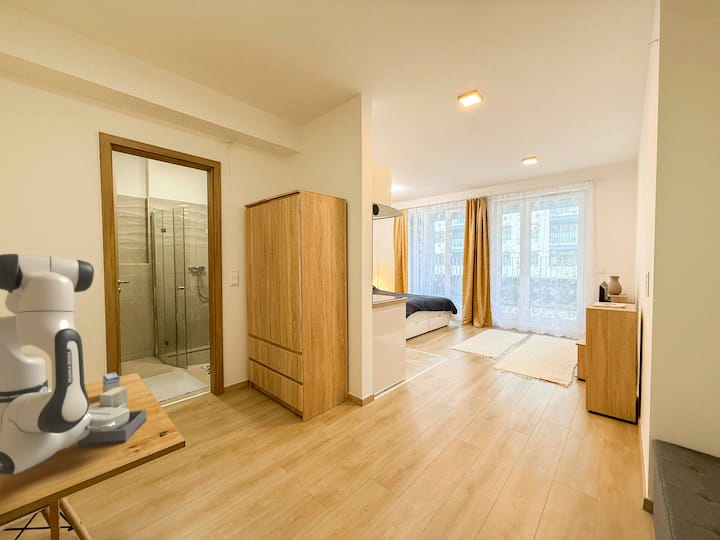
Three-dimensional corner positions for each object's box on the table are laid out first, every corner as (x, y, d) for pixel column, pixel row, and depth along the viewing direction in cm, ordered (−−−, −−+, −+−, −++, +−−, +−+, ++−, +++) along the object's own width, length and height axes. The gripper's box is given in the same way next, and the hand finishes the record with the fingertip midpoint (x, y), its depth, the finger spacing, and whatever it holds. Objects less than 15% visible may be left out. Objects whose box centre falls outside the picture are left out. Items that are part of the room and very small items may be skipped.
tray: (77, 447, 91) (77, 434, 91) (104, 424, 103) (104, 413, 103) (125, 442, 93) (125, 429, 93) (146, 420, 106) (146, 409, 106)
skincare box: (117, 420, 102) (116, 386, 101) (129, 421, 101) (128, 386, 101) (99, 431, 95) (98, 394, 95) (111, 432, 95) (110, 395, 95)
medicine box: (102, 394, 127) (102, 374, 126) (116, 391, 130) (115, 371, 130) (106, 400, 122) (106, 379, 121) (120, 396, 125) (120, 376, 125)
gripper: (103, 419, 84) (144, 397, 98) (42, 414, 86) (90, 393, 100) (103, 440, 84) (144, 415, 98) (42, 435, 86) (90, 412, 100)
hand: (116, 404), depth 99 cm, fingers closed on skincare box, 4 cm apart
